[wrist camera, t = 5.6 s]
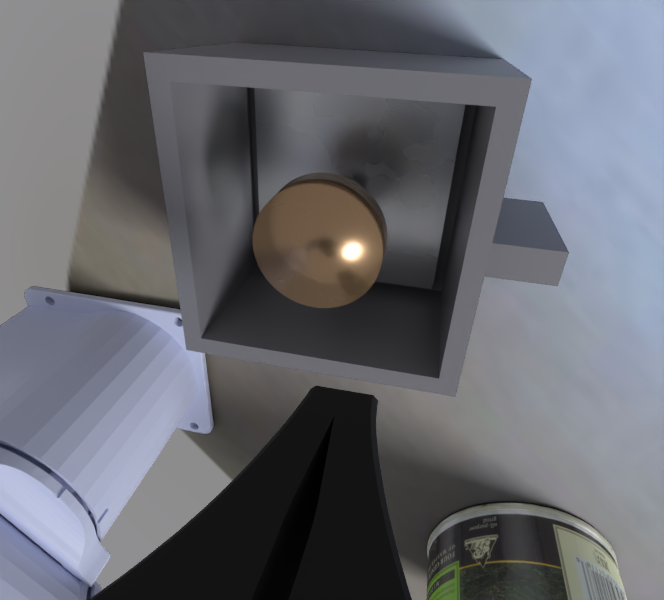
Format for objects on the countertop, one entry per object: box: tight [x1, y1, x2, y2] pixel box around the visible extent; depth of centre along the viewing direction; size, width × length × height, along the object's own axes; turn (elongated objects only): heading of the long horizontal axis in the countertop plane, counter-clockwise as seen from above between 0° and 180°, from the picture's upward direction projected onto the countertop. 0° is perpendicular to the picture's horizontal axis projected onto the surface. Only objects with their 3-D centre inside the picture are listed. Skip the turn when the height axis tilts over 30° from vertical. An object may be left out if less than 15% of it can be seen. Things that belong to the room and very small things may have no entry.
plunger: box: [253, 88, 465, 308], centre depth 15 cm, size 7×7×6 cm
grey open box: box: [143, 42, 569, 397], centre depth 15 cm, size 11×9×6 cm
